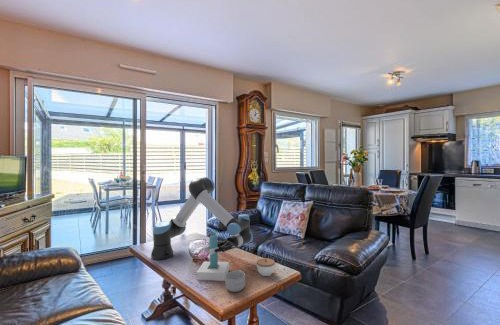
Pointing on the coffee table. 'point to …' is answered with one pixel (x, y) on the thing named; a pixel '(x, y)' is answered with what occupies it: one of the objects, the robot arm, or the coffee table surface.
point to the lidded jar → (265, 266)
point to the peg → (214, 256)
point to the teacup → (235, 280)
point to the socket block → (213, 271)
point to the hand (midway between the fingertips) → (206, 251)
